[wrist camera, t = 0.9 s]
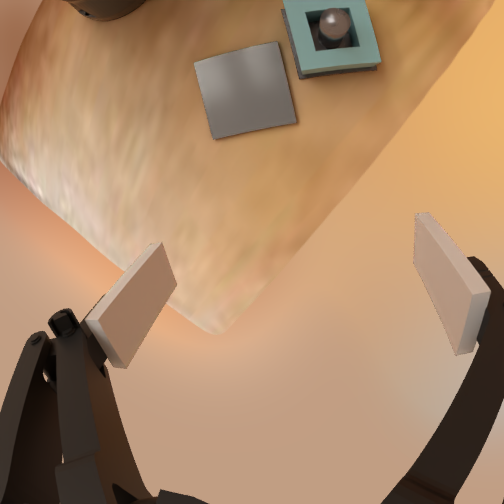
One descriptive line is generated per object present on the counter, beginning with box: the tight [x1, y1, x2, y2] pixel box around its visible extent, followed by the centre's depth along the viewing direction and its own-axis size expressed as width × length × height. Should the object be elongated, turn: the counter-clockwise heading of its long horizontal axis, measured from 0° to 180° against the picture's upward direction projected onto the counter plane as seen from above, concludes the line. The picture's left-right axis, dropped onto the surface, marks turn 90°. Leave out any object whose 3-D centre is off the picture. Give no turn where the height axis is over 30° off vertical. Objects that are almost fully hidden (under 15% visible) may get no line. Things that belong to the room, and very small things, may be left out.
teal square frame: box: [283, 0, 381, 75], centre depth 28 cm, size 9×9×5 cm
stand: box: [281, 8, 377, 79], centre depth 27 cm, size 10×10×9 cm
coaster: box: [194, 41, 297, 140], centre depth 35 cm, size 11×11×1 cm
